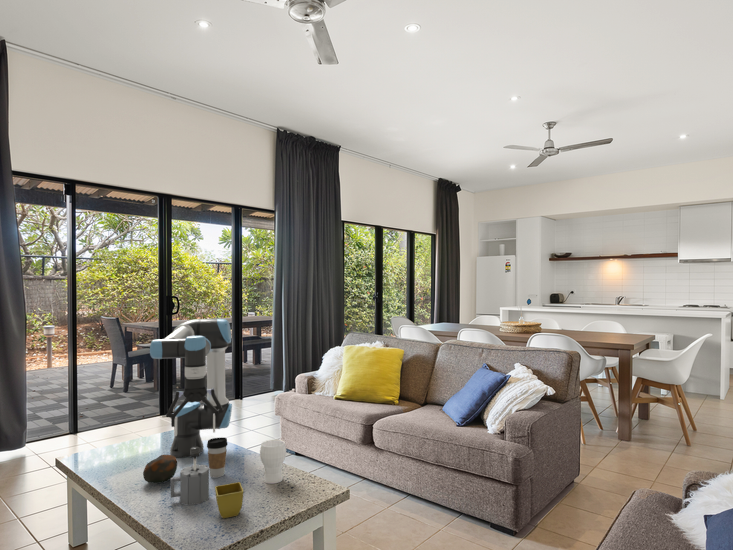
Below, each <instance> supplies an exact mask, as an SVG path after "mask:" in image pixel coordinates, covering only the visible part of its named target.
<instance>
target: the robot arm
mask: <svg viewBox="0 0 733 550" xmlns="http://www.w3.org/2000/svg"><path fill="white" fill-rule="evenodd" d="M231 330H232V329H231V325H230V322H229V320H227V319H225V318H224V319H223V318H203V319H202V318H201V319H200V318H199V319H192V320H191V319H190V320H188V321H185V322H182V323H180V324H178V325H177V326H176V327H175V328H174V329H173V331H172V332H171V333H170V334H169V335H167V336H166V337H164V338H162V339H160V338H158V339H152V340H151V342H150V344H149V355H150V357H151V358H152V359H153V360H154V359H157V360H162V359H184V391H180V390H176V392H175V396H174V399H173V400H172V403H171V404H170V407H169V408H168V410H167V411H166V412H167V413H166V415H165V417H166V418H170V419H171V422H170V423H171V424H170V425H171V428H174V429H173V439H172V443H171V446H170V449H169V450H170V451H169V452H170V453H169V455H172V456H175V457H176V458H187V457H188V458H191V457H190V449H191V448H192V447H199V448H200V453H199V455H200V454H202V453H203V452H204V449H205V448H204V443H203V440H202V437H201V430H202V431H204V430H212V433H214V434H215V433H216V430H221V429H222V430H223V429H226V428H229V426H230V424H231V416H232V412H233V411H232V410H233V403H229V402H230V400H229V399H228V397H226V350H227V348H228V347H229V344H231V343H232V331H231ZM205 376H206V377H205ZM182 396H184V400H183V401H182V402H181V403H180V404H179V405H177V406H176V404H177V402H178V401H179V398H182ZM201 402H203V404H201ZM173 410H174V411H173ZM172 412H173V413H172Z"/></svg>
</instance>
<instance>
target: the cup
mask: <svg viewBox="0 0 733 550" xmlns="http://www.w3.org/2000/svg"><path fill="white" fill-rule="evenodd" d="M260 445H261V446H260V450H259V458H260V460H261V463H262V464H263V469H264V476H263V482H264V483H265V484H277V483H280V482H282V481H283V480H284V478H283V473H282V472H283V471H282V469H283V468H282V467H283V464H284V462H285V459H286V456H287V445H286V442H285V441H284V440H282V439H269V440H265V441H262V442H261V444H260Z"/></svg>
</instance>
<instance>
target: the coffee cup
mask: <svg viewBox="0 0 733 550" xmlns="http://www.w3.org/2000/svg"><path fill="white" fill-rule="evenodd" d="M227 447H228V439H227V437H214V438H213V437H212V438H210V439H207V443H206V448H207V461H208V467H209V478H214V479H216V478H221V477H223V476H224V475H225V474H226V473H225V470H226V461H227Z"/></svg>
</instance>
